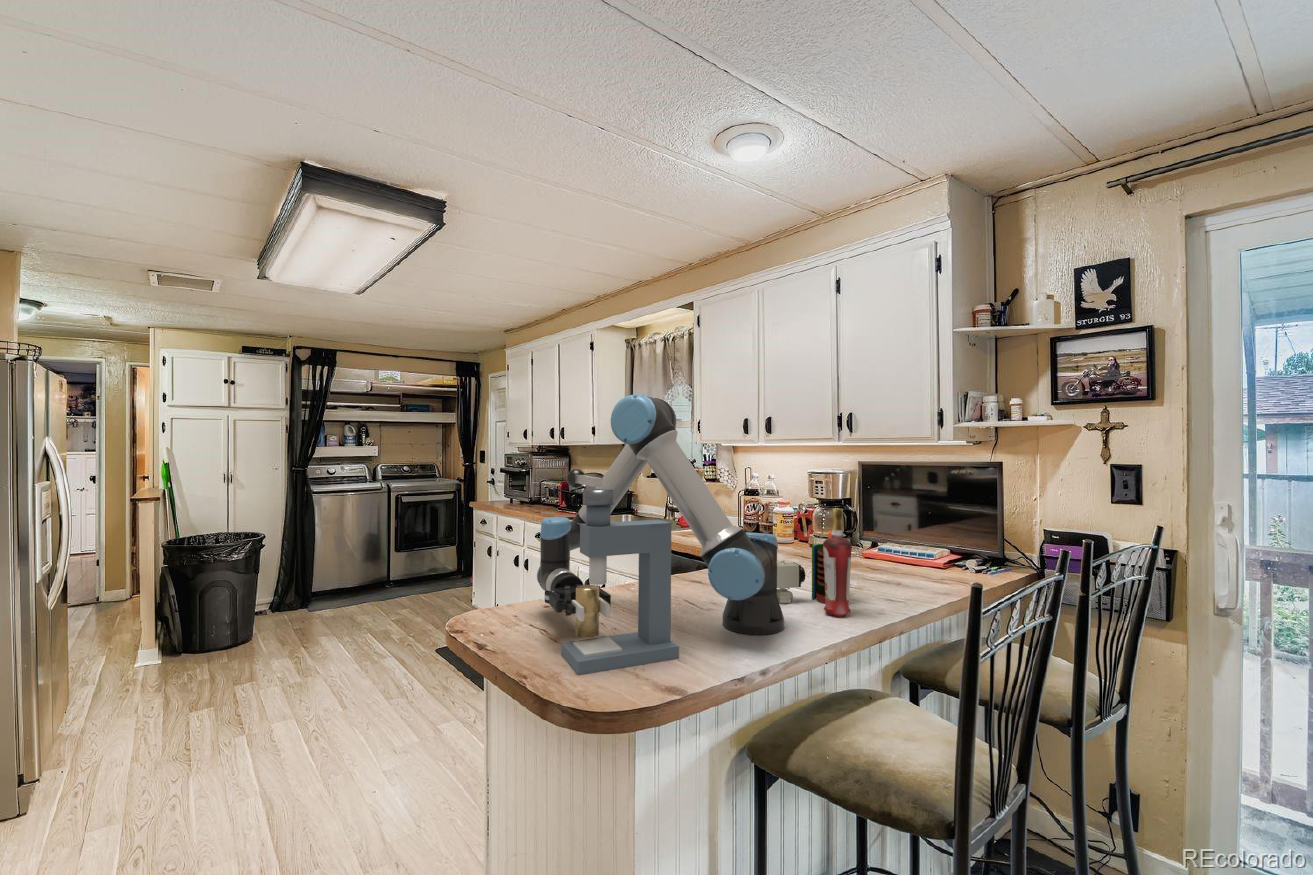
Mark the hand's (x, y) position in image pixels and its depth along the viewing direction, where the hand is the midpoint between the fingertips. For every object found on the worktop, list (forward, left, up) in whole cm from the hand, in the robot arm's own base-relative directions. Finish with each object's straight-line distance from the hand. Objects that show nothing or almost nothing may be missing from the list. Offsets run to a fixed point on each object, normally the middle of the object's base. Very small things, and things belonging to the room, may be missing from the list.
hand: (595, 612), depth 121 cm
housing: (+3, -5, -6) cm, 8 cm away
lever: (+3, -7, +22) cm, 24 cm away
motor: (-58, -53, -10) cm, 80 cm away
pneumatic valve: (-44, -50, -10) cm, 68 cm away
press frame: (-5, -3, -10) cm, 11 cm away
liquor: (-57, -39, -10) cm, 70 cm away
